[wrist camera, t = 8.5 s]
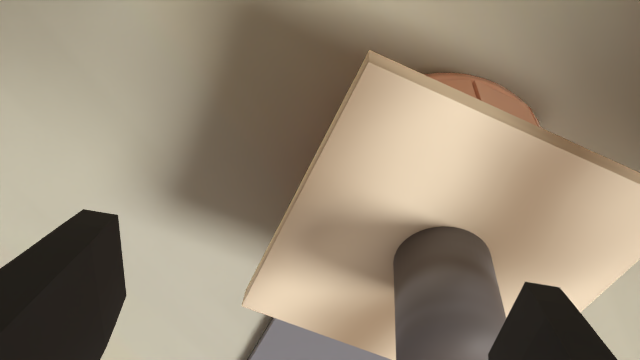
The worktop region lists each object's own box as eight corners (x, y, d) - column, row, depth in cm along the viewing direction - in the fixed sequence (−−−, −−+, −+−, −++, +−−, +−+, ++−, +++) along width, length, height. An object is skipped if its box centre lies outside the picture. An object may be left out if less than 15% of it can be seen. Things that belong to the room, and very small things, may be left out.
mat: (238, 374, 29) (237, 381, 29) (321, 236, 23) (321, 243, 23) (419, 436, 31) (420, 443, 30) (542, 323, 25) (544, 330, 24)
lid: (246, 289, 20) (216, 398, 16) (369, 49, 14) (365, 136, 10) (486, 376, 21) (507, 493, 18) (682, 192, 16) (772, 309, 12)
